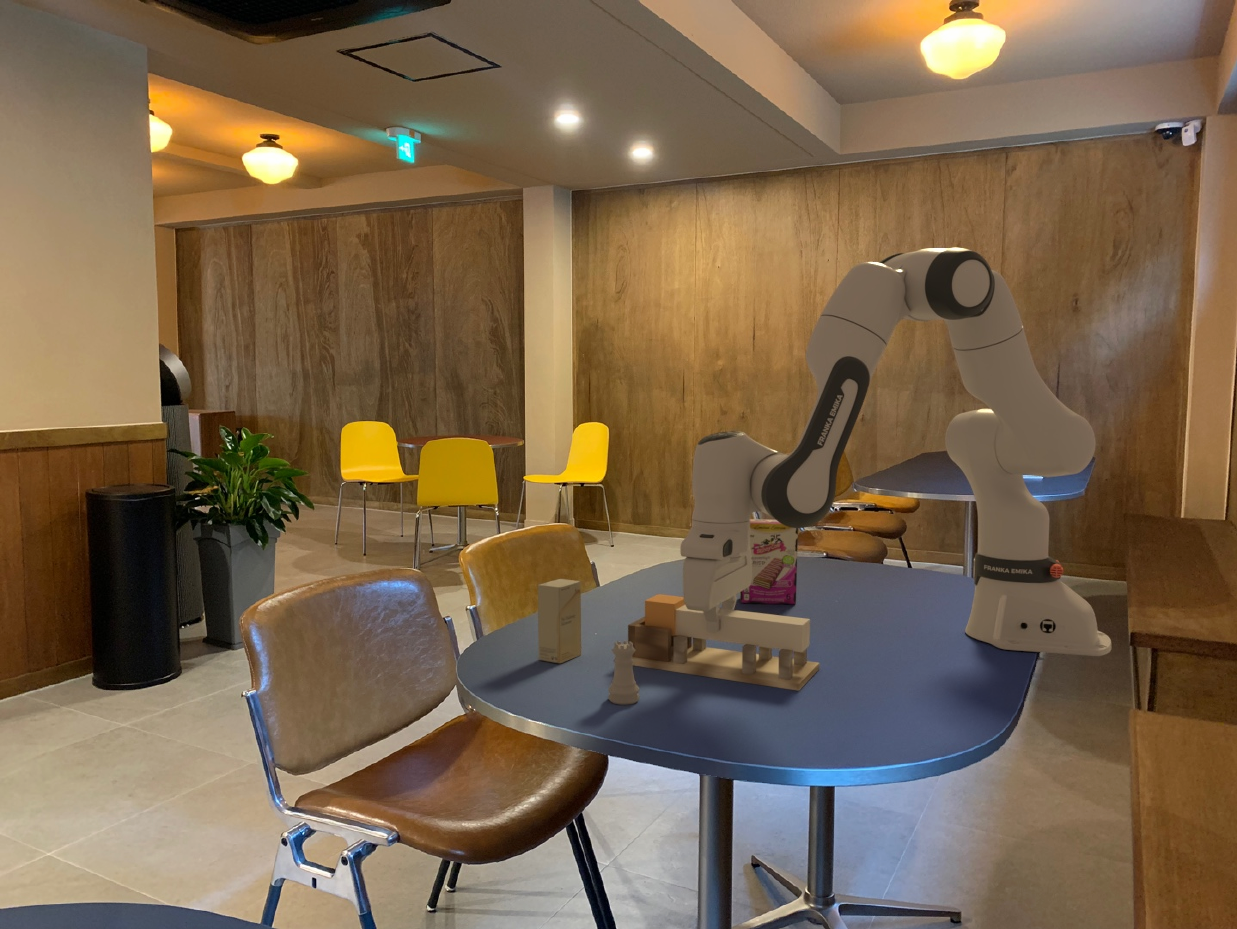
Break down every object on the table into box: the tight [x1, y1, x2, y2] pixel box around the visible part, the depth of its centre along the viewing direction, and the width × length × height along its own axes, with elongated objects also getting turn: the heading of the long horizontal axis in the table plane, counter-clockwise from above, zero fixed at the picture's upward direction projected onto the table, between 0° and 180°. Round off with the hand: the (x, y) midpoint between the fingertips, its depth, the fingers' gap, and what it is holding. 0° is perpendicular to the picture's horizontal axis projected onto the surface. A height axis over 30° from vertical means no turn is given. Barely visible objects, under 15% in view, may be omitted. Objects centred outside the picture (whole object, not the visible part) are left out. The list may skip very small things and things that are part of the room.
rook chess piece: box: [607, 640, 641, 706], centre depth 124 cm, size 4×4×8 cm
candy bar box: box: [739, 518, 799, 605], centre depth 181 cm, size 11×5×16 cm, turn 84°
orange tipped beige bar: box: [644, 593, 811, 652], centre depth 138 cm, size 25×5×5 cm, turn 63°
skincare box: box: [537, 578, 582, 664], centre depth 144 cm, size 6×4×12 cm
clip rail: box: [627, 616, 820, 692], centre depth 139 cm, size 28×11×6 cm, turn 63°
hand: (719, 627), depth 139 cm, fingers closed on orange tipped beige bar, 4 cm apart
